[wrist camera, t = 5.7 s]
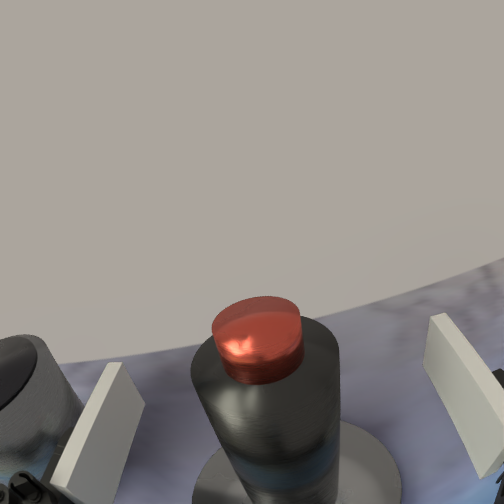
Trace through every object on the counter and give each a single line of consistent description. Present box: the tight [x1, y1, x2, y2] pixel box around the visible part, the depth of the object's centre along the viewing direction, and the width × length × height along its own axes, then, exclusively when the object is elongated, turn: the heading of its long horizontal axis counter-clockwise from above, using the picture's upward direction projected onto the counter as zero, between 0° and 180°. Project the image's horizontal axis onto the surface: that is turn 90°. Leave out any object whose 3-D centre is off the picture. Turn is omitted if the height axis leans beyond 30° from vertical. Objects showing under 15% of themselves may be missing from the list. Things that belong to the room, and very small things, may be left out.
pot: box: [0, 335, 85, 487], centre depth 13 cm, size 9×9×8 cm
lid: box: [191, 296, 402, 504], centre depth 10 cm, size 10×10×12 cm
